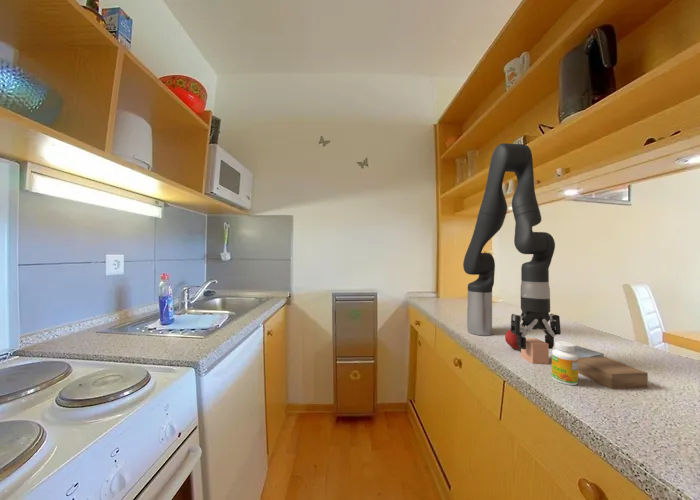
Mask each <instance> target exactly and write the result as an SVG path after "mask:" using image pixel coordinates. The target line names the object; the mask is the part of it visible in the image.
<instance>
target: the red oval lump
mask: <svg viewBox="0 0 700 500" xmlns="http://www.w3.org/2000/svg"><path fill="white" fill-rule="evenodd" d="M504 337H505V339H504V341H505V342H506V343H507V345H509V346H510V347H511V349H513V350H518V349H520V348H519V346H518V344H517V343H518V342H517V335H516V334H513V333H511V328H510V329H509V330H507V331H506V333H505V336H504Z"/></svg>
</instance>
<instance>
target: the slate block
mask: <svg viewBox="0 0 700 500" xmlns="http://www.w3.org/2000/svg"><path fill="white" fill-rule="evenodd" d="M573 352H574V353H576V354H577V356H578V358H583V357H605V353H603V352H600V351H595V350H592V349H589V348H586V347H583V346H580V345H575V351H573Z"/></svg>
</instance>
